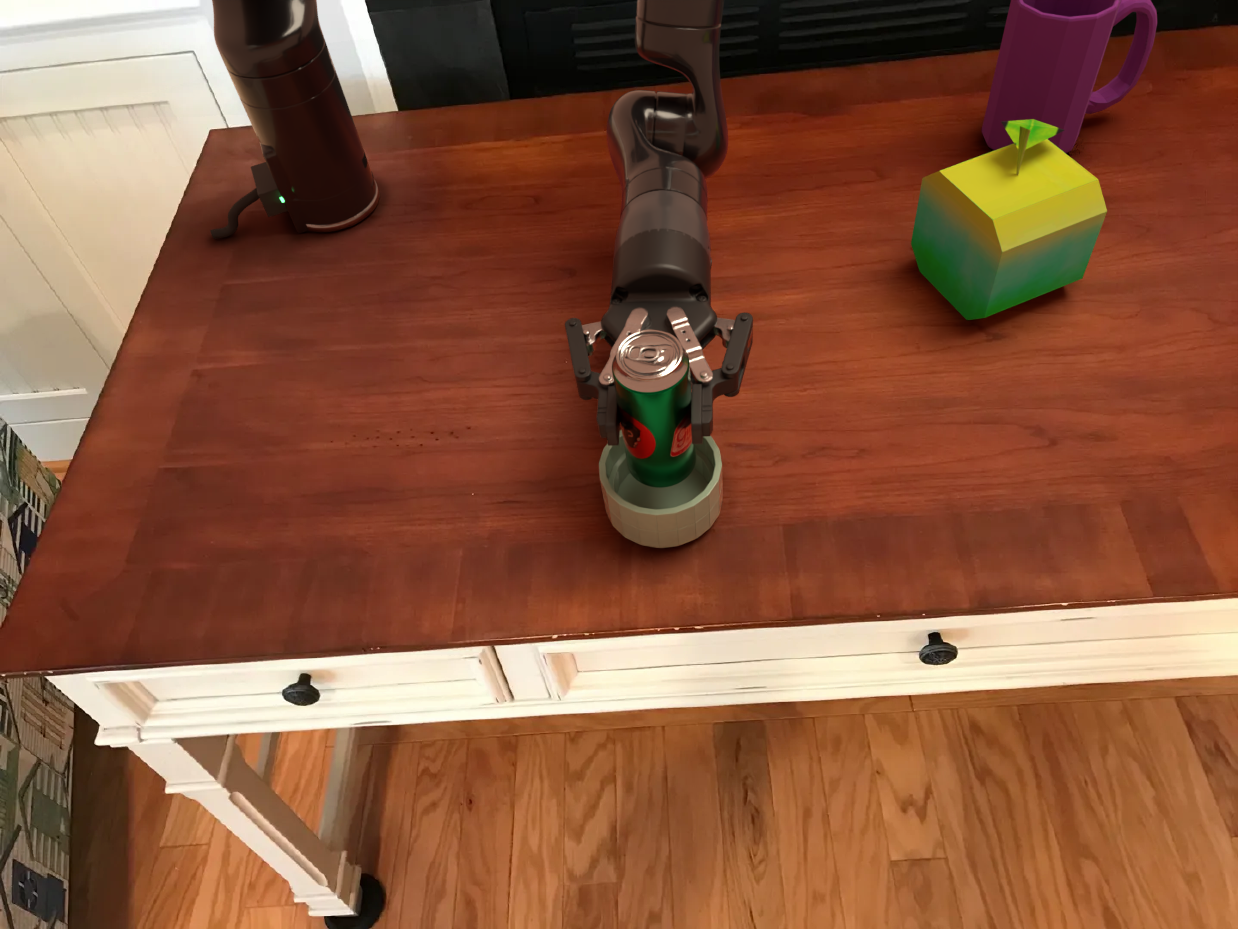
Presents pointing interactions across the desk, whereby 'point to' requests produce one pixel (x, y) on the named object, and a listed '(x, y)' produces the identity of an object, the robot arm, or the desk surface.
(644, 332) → the soda can
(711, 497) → the bowl
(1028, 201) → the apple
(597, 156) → the desk surface
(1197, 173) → the desk surface
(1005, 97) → the mug
